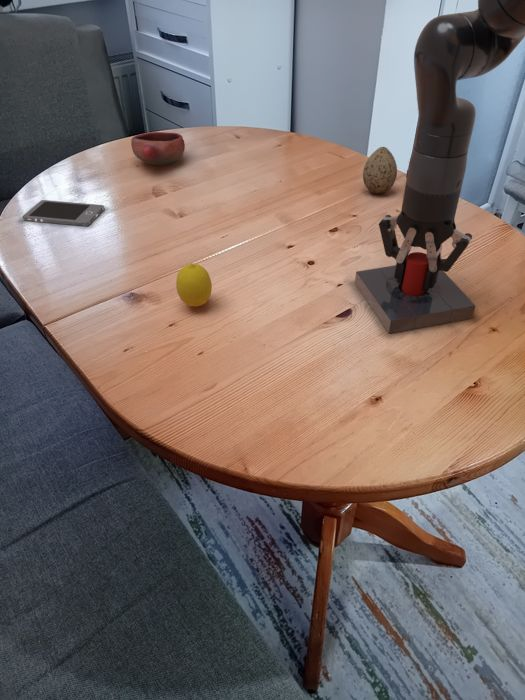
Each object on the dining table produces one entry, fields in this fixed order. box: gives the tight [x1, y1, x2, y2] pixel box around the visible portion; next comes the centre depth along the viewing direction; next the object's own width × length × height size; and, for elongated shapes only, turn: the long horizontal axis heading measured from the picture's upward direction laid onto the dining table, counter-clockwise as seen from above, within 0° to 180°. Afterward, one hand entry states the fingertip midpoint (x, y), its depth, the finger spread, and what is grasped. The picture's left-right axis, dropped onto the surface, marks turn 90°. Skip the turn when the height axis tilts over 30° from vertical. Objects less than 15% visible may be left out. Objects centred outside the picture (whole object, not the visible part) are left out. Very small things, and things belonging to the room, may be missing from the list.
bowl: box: [130, 131, 186, 166], centre depth 129 cm, size 16×13×8 cm
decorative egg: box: [362, 146, 398, 195], centre depth 115 cm, size 7×7×10 cm
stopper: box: [402, 251, 429, 296], centre depth 84 cm, size 4×4×6 cm
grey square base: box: [354, 264, 477, 335], centre depth 87 cm, size 14×14×2 cm
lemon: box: [175, 263, 213, 308], centre depth 85 cm, size 6×6×8 cm
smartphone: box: [21, 199, 105, 227], centre depth 113 cm, size 15×8×1 cm, turn 77°
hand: (413, 284), depth 85 cm, fingers closed on stopper, 3 cm apart
